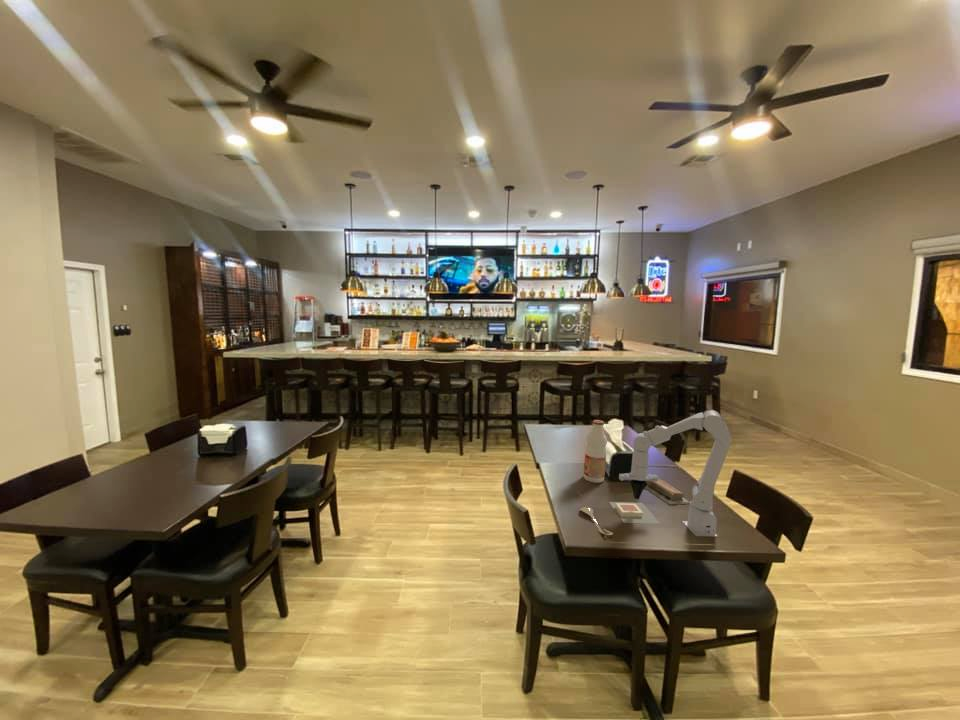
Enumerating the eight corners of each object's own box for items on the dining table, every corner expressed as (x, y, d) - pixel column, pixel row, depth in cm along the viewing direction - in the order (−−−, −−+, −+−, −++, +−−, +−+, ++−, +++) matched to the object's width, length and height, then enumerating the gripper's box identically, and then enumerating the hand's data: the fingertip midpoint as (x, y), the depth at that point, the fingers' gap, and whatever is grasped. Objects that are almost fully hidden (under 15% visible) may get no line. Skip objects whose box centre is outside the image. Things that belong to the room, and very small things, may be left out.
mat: (660, 524, 147) (660, 523, 147) (623, 523, 147) (624, 522, 147) (642, 503, 163) (642, 502, 163) (608, 502, 163) (608, 501, 162)
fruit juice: (596, 485, 179) (601, 425, 175) (579, 477, 186) (583, 420, 182) (608, 480, 185) (613, 422, 181) (590, 473, 192) (595, 417, 188)
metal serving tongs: (617, 528, 137) (605, 529, 136) (616, 538, 137) (604, 539, 136) (588, 503, 156) (577, 504, 155) (588, 512, 156) (577, 513, 155)
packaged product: (642, 477, 179) (660, 475, 182) (641, 487, 180) (659, 485, 182) (670, 495, 162) (690, 493, 165) (669, 506, 163) (689, 504, 165)
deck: (642, 512, 151) (622, 511, 151) (642, 517, 151) (621, 516, 151) (635, 503, 158) (615, 503, 158) (634, 507, 158) (615, 507, 158)
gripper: (653, 461, 157) (649, 493, 158) (617, 460, 156) (614, 492, 158) (662, 468, 150) (658, 502, 151) (624, 467, 149) (621, 501, 151)
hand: (636, 497), depth 154 cm, fingers closed
